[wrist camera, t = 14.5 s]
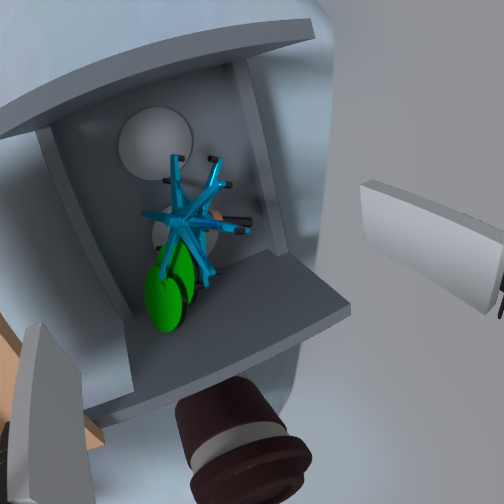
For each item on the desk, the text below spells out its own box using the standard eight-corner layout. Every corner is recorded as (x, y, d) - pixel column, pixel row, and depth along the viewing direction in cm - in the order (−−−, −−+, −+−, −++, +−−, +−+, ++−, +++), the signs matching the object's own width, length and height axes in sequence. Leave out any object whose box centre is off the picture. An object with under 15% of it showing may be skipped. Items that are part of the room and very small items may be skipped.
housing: (-21, 376, 21) (-38, 462, 12) (-113, 225, 12) (-178, 285, 3) (276, 250, 28) (350, 315, 20) (229, 51, 20) (310, 18, 11)
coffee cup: (243, 396, 35) (306, 499, 23) (160, 412, 31) (203, 532, 19) (253, 331, 31) (338, 448, 19) (152, 345, 27) (201, 494, 15)
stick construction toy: (154, 134, 18) (235, 173, 14) (232, 152, 24) (314, 190, 19) (116, 296, 23) (172, 369, 18) (188, 286, 28) (248, 342, 23)
